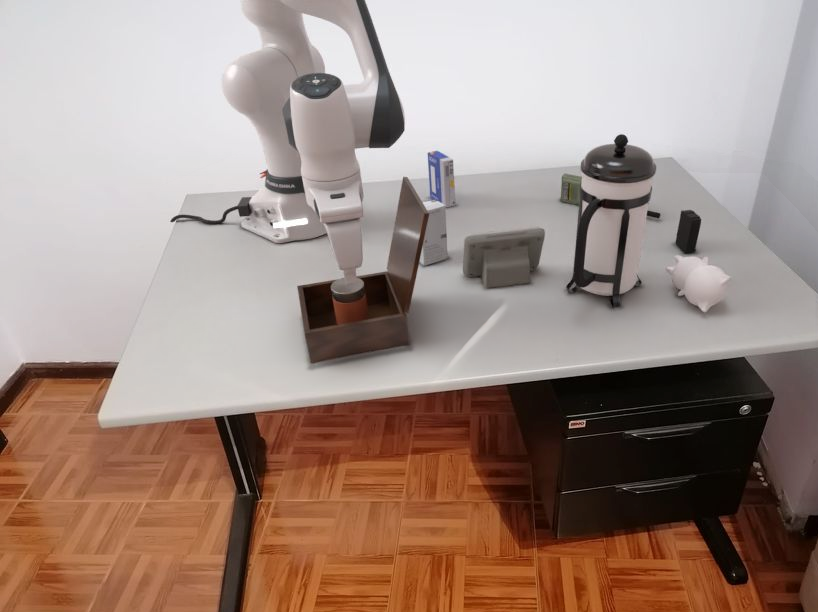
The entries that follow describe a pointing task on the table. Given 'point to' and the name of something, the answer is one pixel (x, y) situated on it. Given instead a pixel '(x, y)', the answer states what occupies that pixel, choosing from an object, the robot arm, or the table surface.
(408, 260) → the lid
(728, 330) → the table surface
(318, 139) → the robot arm
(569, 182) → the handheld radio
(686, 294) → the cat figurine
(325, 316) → the chest
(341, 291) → the can
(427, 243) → the cosmetic box
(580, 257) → the coffee press
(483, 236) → the digital clock
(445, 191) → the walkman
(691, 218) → the ink cartridge
